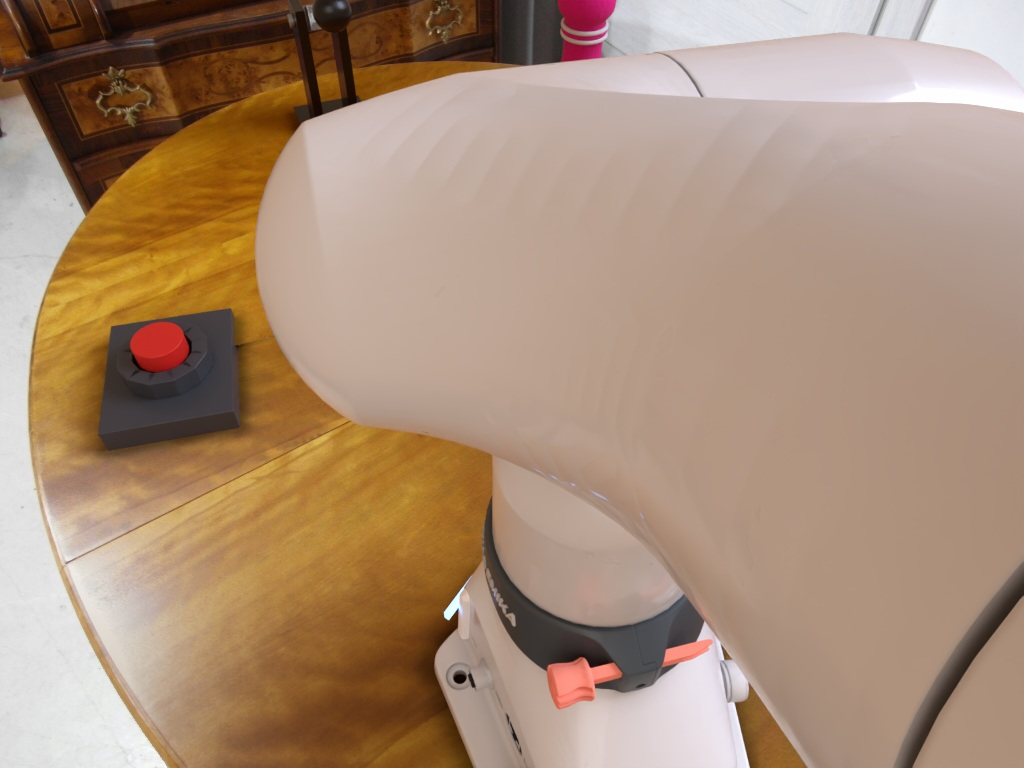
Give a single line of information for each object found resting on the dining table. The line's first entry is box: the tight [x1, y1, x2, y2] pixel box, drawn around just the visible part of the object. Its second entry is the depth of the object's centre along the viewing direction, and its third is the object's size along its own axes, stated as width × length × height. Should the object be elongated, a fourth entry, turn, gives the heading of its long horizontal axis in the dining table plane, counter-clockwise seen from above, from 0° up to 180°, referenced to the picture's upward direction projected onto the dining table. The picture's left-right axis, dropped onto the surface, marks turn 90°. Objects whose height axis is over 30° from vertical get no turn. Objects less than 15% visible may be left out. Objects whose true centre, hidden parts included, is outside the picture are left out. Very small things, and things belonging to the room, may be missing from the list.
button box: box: [97, 307, 241, 452], centre depth 64 cm, size 12×10×4 cm
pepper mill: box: [557, 0, 617, 62], centre depth 84 cm, size 7×7×20 cm
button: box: [130, 322, 189, 372], centre depth 62 cm, size 4×4×2 cm
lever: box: [302, 0, 353, 34], centre depth 77 cm, size 14×4×4 cm, turn 22°
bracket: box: [286, 0, 363, 126], centre depth 86 cm, size 9×8×15 cm
